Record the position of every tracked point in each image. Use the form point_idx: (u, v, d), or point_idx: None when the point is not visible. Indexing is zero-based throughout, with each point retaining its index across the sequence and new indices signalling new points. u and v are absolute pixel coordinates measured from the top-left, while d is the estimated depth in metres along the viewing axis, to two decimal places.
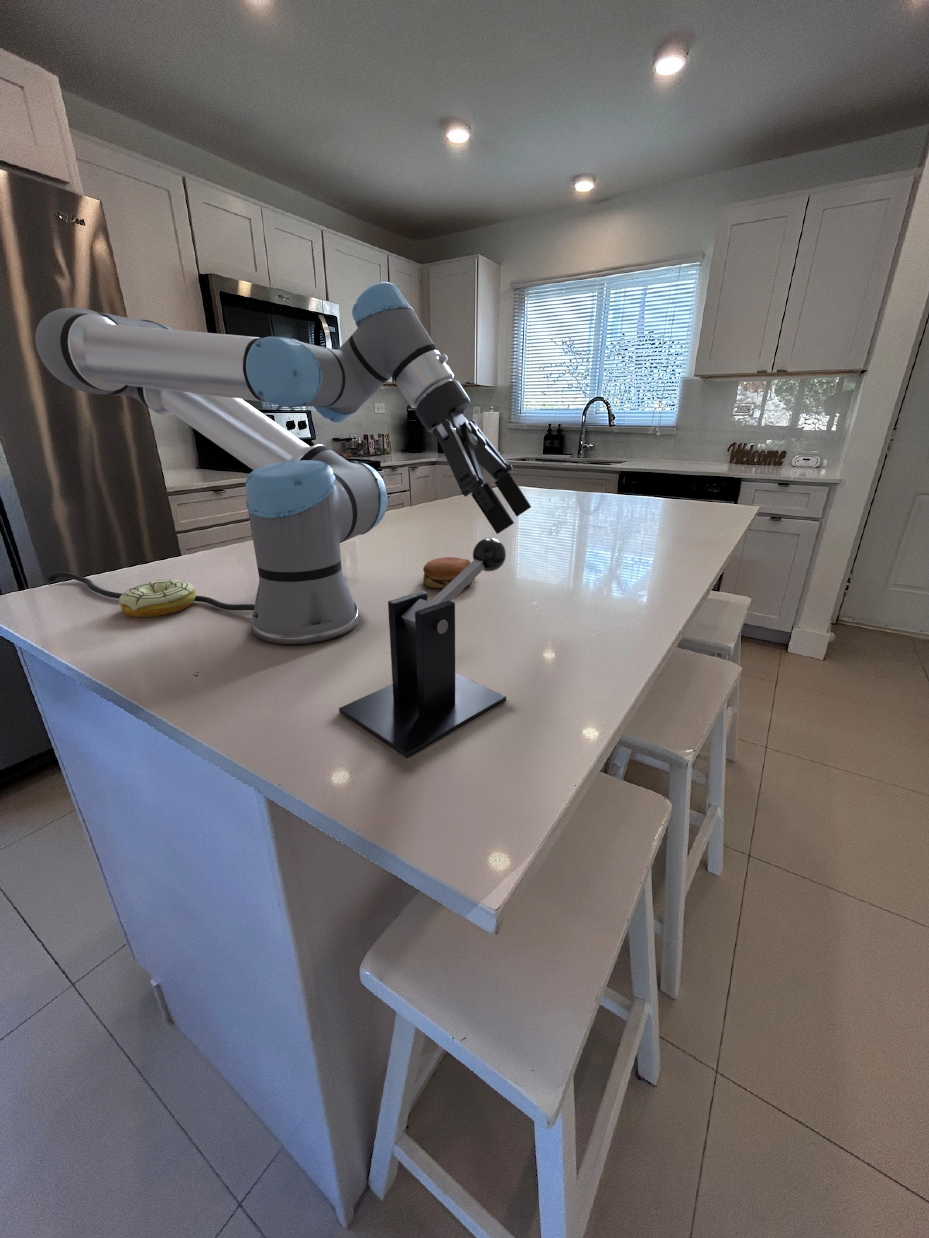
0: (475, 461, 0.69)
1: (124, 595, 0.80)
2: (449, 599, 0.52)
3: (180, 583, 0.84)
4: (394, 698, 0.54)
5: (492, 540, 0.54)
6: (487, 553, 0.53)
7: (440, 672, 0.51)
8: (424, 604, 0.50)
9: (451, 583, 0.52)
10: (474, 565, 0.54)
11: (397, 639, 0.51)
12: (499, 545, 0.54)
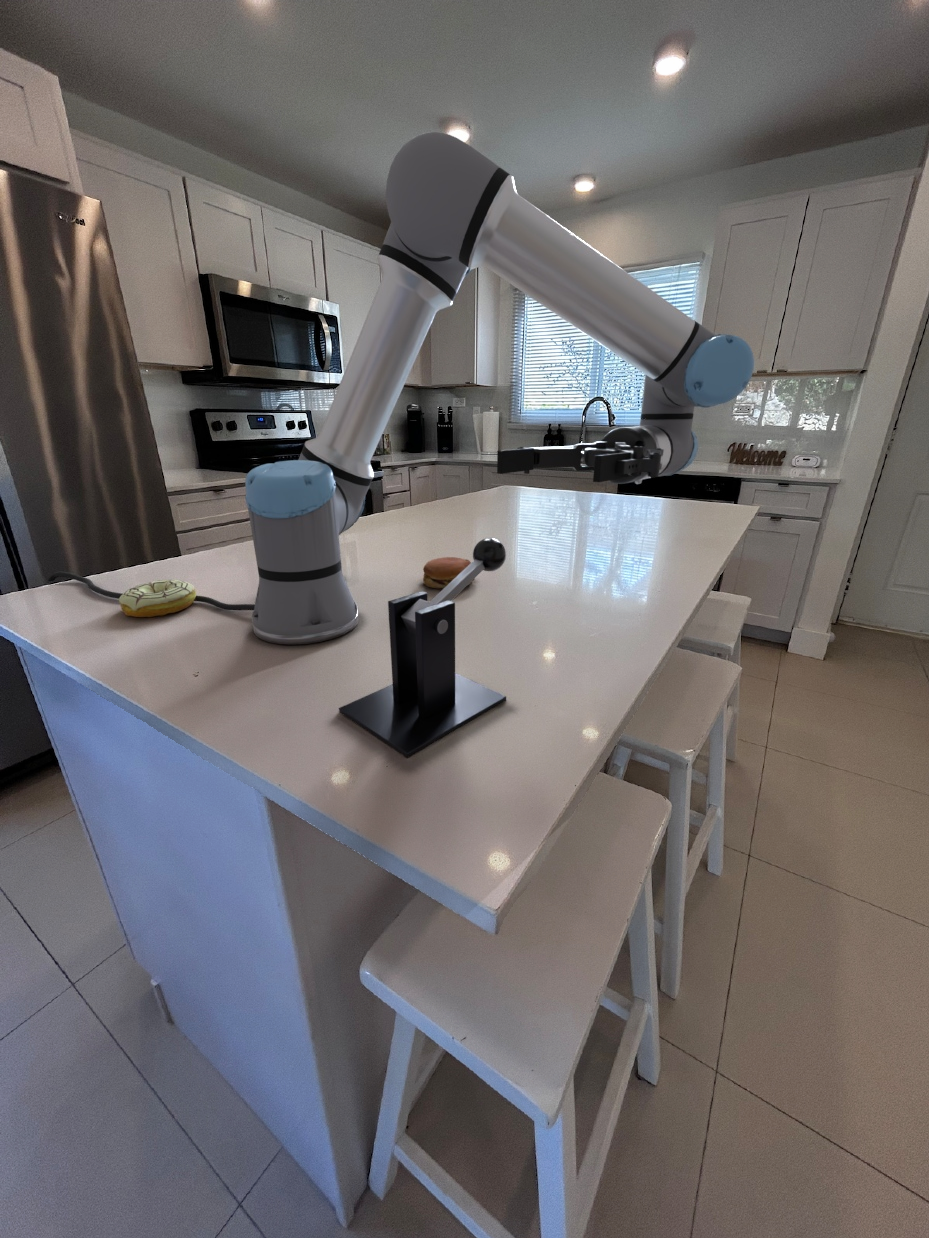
0: None
1: (124, 595, 0.80)
2: (449, 599, 0.52)
3: (180, 583, 0.84)
4: (394, 698, 0.54)
5: (492, 540, 0.54)
6: (487, 553, 0.53)
7: (440, 672, 0.51)
8: (424, 604, 0.50)
9: (451, 583, 0.52)
10: (474, 565, 0.54)
11: (397, 639, 0.51)
12: (499, 545, 0.54)
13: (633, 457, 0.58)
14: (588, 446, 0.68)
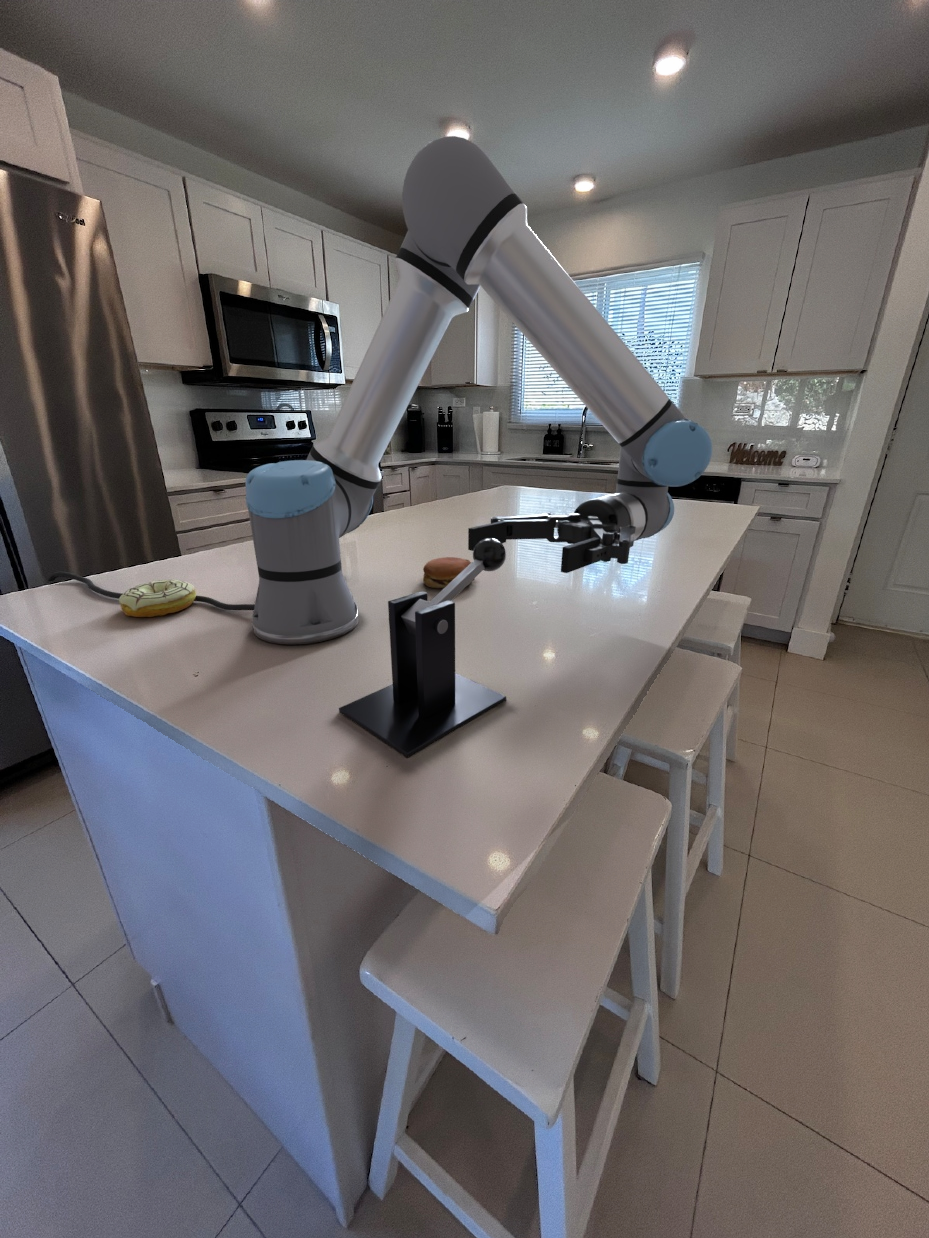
0: None
1: (124, 595, 0.80)
2: (449, 599, 0.52)
3: (180, 583, 0.84)
4: (394, 698, 0.54)
5: (492, 540, 0.54)
6: (487, 553, 0.53)
7: (440, 672, 0.51)
8: (424, 604, 0.50)
9: (451, 583, 0.52)
10: (474, 565, 0.54)
11: (397, 639, 0.51)
12: (499, 545, 0.54)
13: (602, 543, 0.57)
14: (561, 519, 0.68)
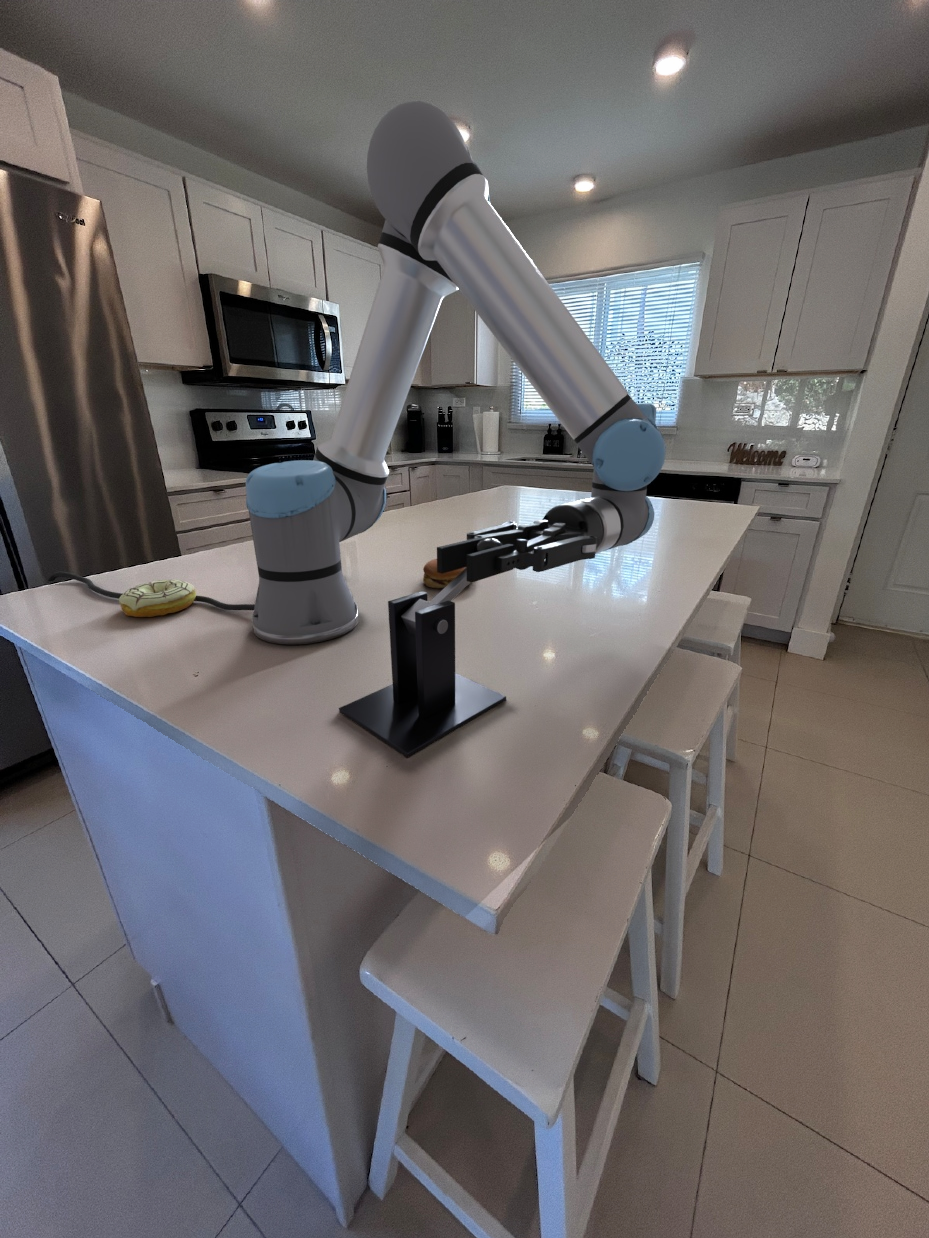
0: None
1: (124, 595, 0.80)
2: (449, 599, 0.52)
3: (180, 583, 0.84)
4: (394, 698, 0.54)
5: (492, 540, 0.54)
6: None
7: (440, 672, 0.51)
8: (424, 604, 0.50)
9: (451, 583, 0.52)
10: None
11: (397, 639, 0.51)
12: (499, 545, 0.54)
13: (516, 549, 0.54)
14: (534, 527, 0.62)
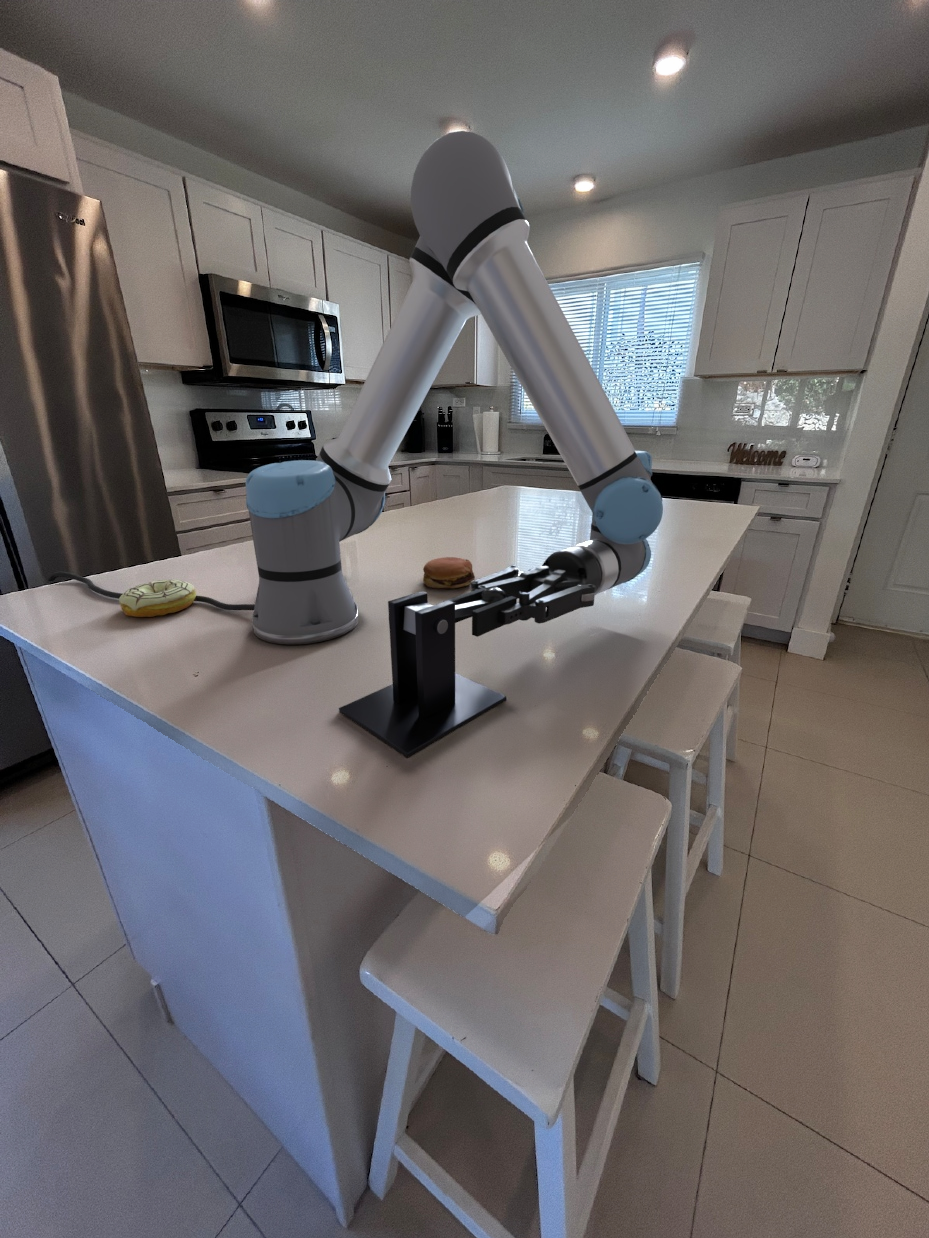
0: None
1: (124, 595, 0.80)
2: None
3: (180, 583, 0.84)
4: (394, 698, 0.54)
5: (502, 590, 0.58)
6: (495, 597, 0.56)
7: (440, 672, 0.51)
8: (429, 606, 0.50)
9: (456, 606, 0.54)
10: (480, 602, 0.56)
11: (397, 639, 0.51)
12: (507, 596, 0.57)
13: (519, 601, 0.57)
14: (535, 574, 0.64)
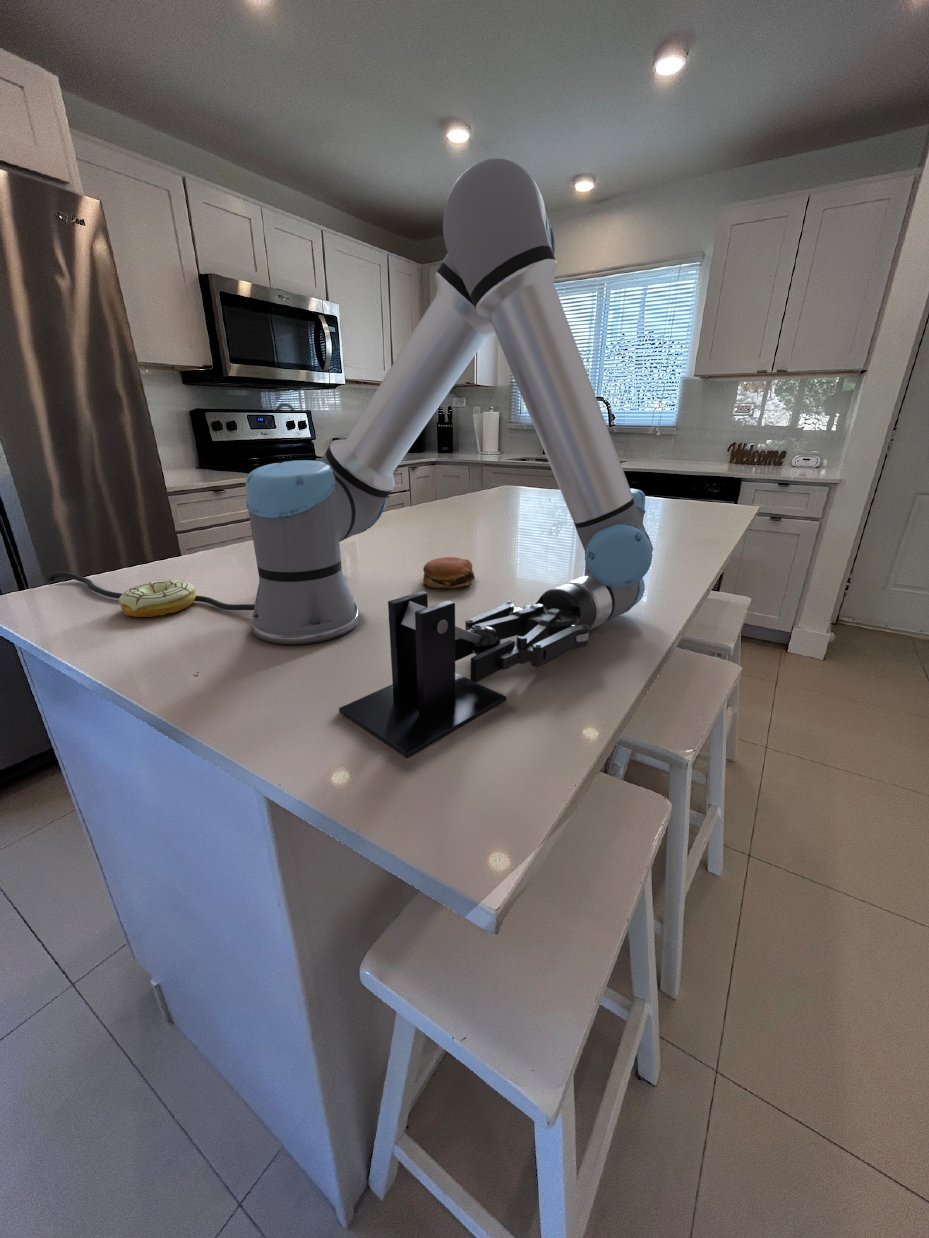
0: None
1: (124, 595, 0.80)
2: None
3: (180, 583, 0.84)
4: (394, 698, 0.54)
5: None
6: (489, 633, 0.57)
7: (440, 672, 0.51)
8: None
9: None
10: (474, 633, 0.57)
11: (397, 639, 0.51)
12: (499, 637, 0.58)
13: None
14: (529, 613, 0.66)
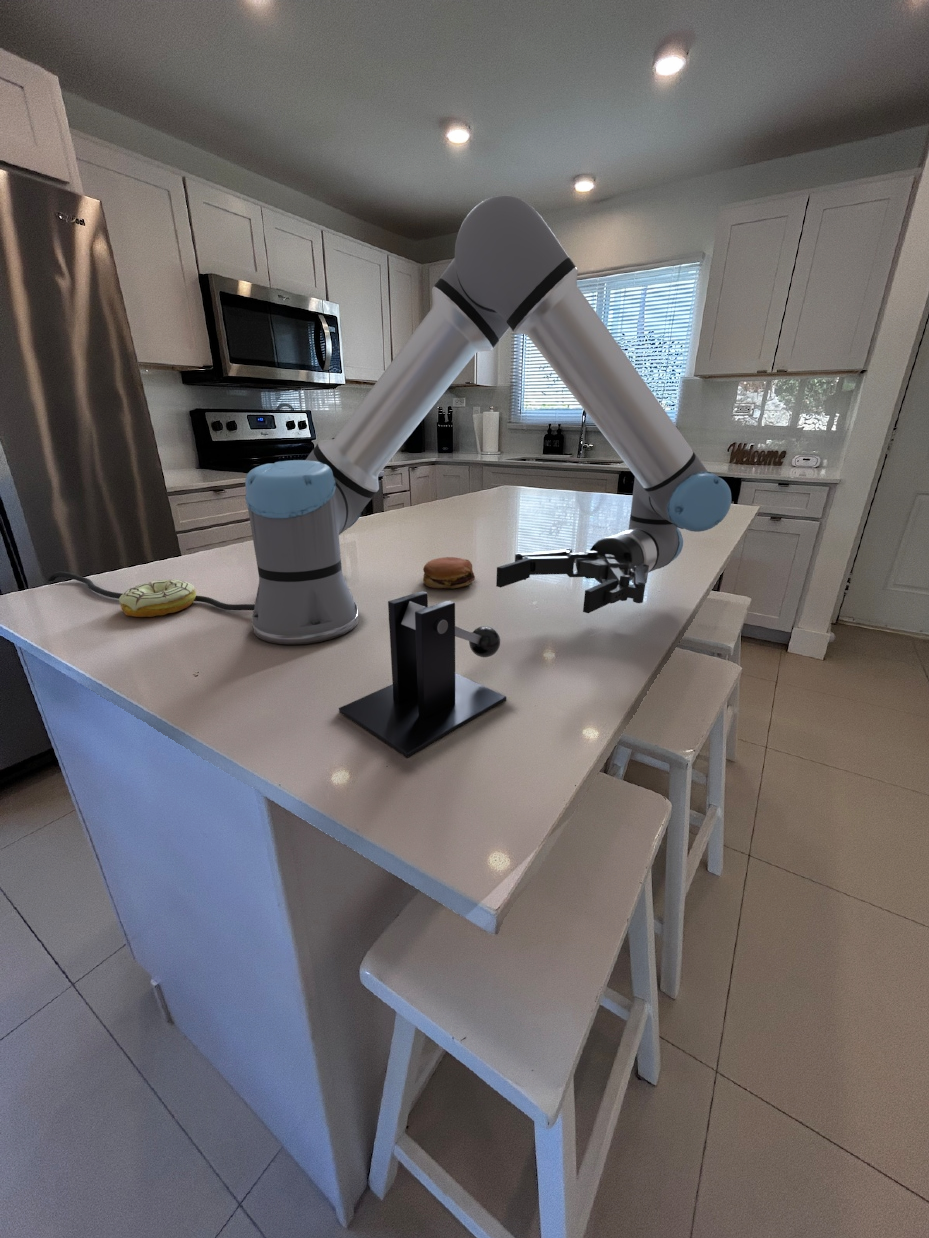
0: None
1: (124, 595, 0.80)
2: None
3: (180, 583, 0.84)
4: (394, 698, 0.54)
5: None
6: (489, 633, 0.57)
7: (440, 672, 0.51)
8: None
9: None
10: (474, 633, 0.57)
11: (397, 639, 0.51)
12: (499, 637, 0.58)
13: (620, 584, 0.64)
14: (580, 556, 0.74)
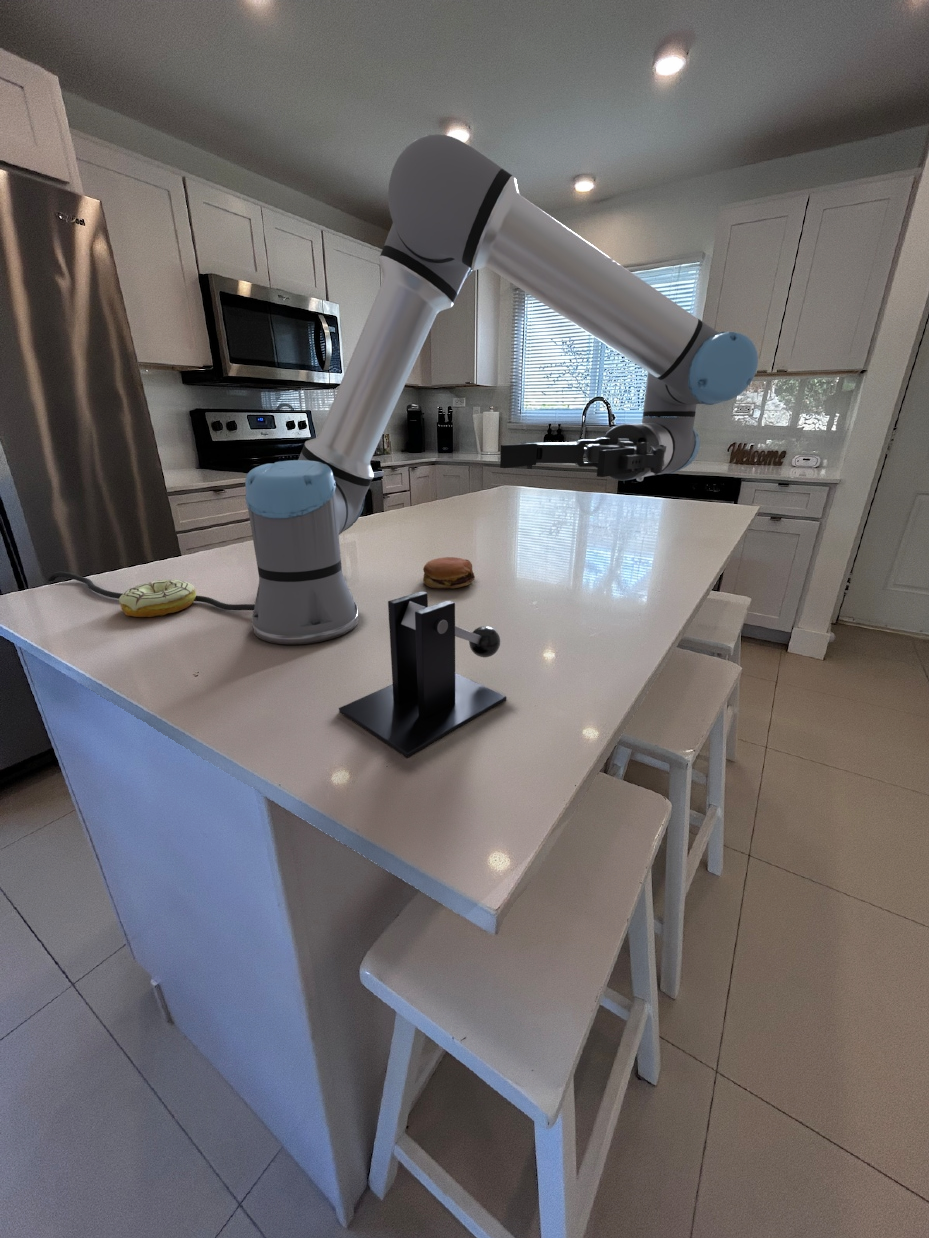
0: None
1: (124, 595, 0.80)
2: None
3: (180, 583, 0.84)
4: (394, 698, 0.54)
5: None
6: (489, 633, 0.57)
7: (440, 672, 0.51)
8: None
9: None
10: (474, 633, 0.57)
11: (397, 639, 0.51)
12: (499, 637, 0.58)
13: (636, 453, 0.58)
14: (591, 442, 0.68)
